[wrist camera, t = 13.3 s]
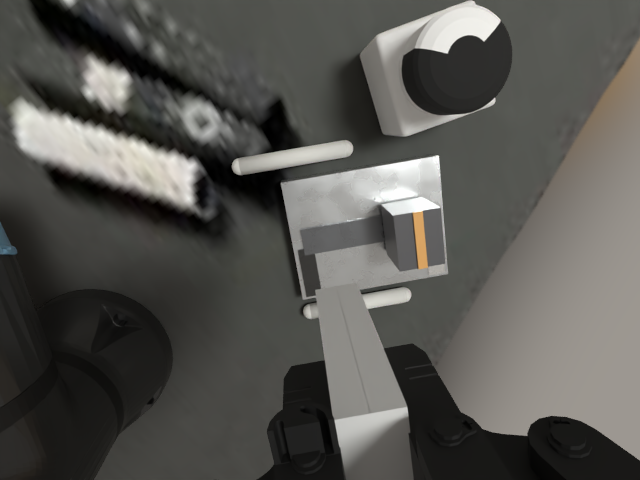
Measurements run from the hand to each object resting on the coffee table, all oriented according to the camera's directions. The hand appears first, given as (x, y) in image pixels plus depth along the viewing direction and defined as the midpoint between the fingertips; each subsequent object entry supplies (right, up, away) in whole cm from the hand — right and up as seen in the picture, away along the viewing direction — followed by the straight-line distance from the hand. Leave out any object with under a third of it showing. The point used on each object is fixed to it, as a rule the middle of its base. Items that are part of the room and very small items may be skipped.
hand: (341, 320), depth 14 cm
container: (+8, +18, +23) cm, 30 cm away
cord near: (-3, +11, +24) cm, 27 cm away
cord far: (+3, -4, +29) cm, 29 cm away
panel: (+4, +4, +26) cm, 27 cm away
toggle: (+7, +4, +24) cm, 25 cm away
